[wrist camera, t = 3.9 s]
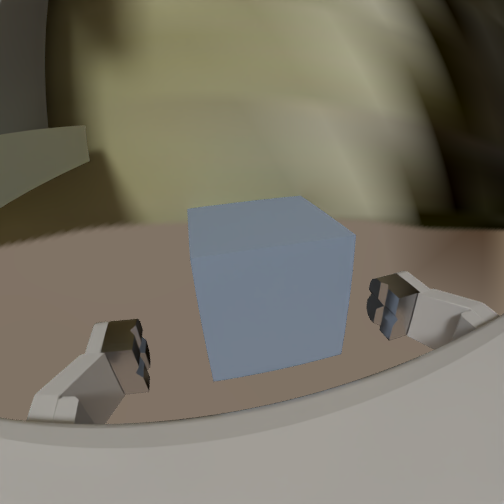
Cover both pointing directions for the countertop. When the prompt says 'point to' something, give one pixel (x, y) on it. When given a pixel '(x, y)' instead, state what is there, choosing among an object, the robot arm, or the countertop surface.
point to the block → (270, 283)
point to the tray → (29, 106)
